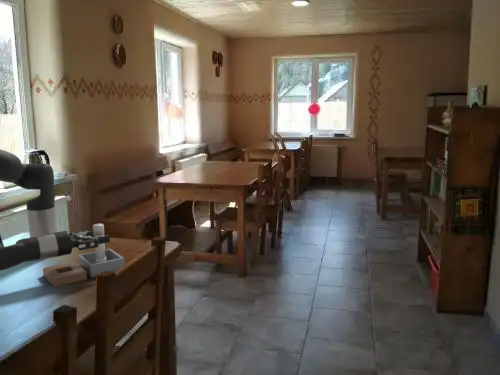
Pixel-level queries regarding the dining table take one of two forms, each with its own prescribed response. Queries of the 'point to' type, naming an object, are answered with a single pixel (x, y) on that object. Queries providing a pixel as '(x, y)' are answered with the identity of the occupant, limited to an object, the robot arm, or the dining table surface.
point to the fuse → (100, 251)
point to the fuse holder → (64, 274)
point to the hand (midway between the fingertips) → (105, 235)
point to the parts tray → (93, 268)
